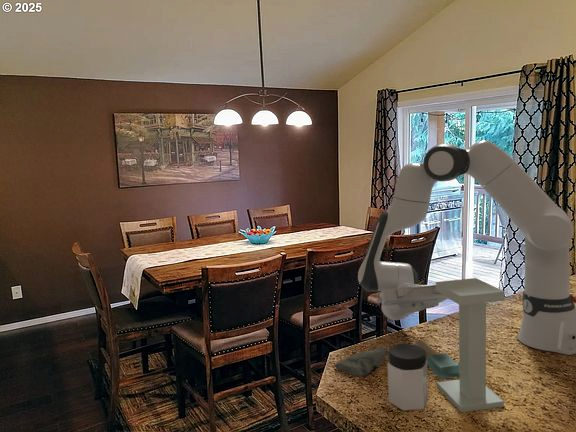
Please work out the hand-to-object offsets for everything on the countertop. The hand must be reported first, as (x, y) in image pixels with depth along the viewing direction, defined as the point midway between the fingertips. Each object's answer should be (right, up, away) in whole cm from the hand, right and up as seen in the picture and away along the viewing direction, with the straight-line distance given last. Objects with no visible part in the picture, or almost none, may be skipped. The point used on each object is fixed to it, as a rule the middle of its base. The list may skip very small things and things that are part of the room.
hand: (425, 287), depth 122 cm
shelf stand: (+4, -22, -19) cm, 29 cm away
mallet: (+2, -20, -1) cm, 20 cm away
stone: (-15, -21, +1) cm, 26 cm away
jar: (-10, -23, -19) cm, 31 cm away
